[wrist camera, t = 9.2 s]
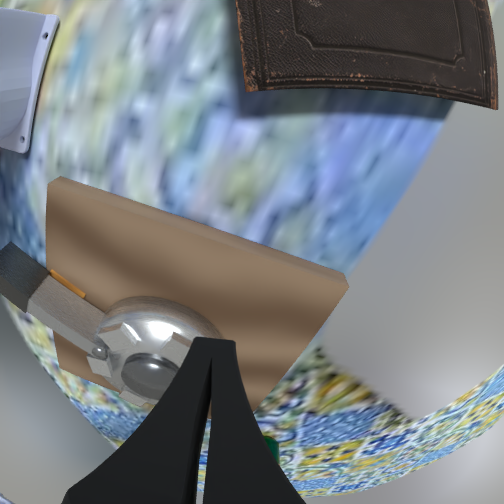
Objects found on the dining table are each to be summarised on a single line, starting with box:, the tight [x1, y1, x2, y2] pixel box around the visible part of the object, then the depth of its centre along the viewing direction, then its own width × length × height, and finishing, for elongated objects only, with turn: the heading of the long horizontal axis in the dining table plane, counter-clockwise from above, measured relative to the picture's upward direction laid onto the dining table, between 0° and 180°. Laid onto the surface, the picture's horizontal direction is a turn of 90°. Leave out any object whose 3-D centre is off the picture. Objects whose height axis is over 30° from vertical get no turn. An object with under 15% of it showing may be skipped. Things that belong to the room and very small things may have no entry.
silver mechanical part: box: [0, 242, 224, 407], centre depth 18 cm, size 19×10×4 cm, turn 52°
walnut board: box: [46, 176, 349, 419], centre depth 22 cm, size 20×20×2 cm
